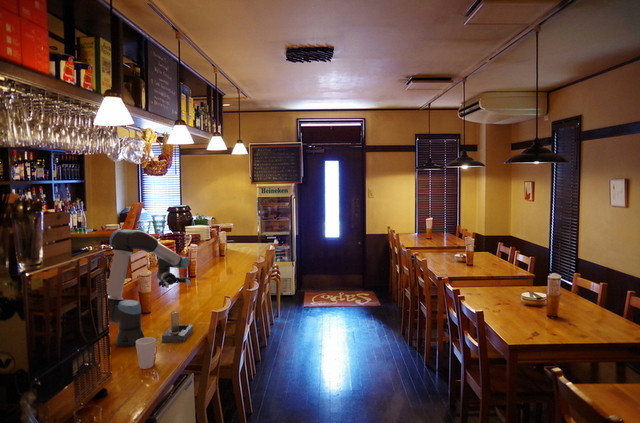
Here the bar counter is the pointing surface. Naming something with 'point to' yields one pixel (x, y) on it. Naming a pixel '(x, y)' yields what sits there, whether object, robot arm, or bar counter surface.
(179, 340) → the keyhole plate
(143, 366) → the foam cup
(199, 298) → the bar counter surface
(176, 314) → the brass post
